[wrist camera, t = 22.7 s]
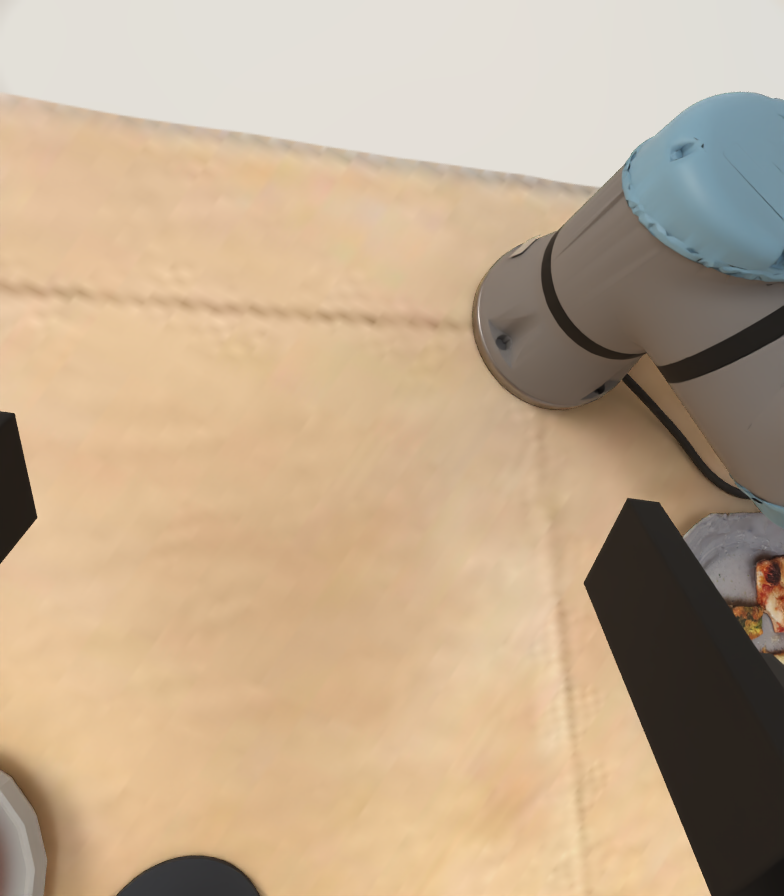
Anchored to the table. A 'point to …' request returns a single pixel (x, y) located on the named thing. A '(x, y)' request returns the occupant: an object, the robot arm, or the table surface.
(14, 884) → the frying pan
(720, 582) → the food plate
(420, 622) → the table surface
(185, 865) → the coaster
